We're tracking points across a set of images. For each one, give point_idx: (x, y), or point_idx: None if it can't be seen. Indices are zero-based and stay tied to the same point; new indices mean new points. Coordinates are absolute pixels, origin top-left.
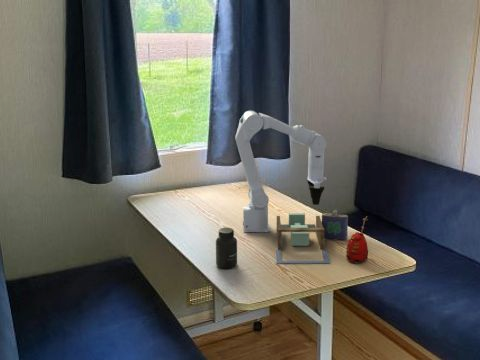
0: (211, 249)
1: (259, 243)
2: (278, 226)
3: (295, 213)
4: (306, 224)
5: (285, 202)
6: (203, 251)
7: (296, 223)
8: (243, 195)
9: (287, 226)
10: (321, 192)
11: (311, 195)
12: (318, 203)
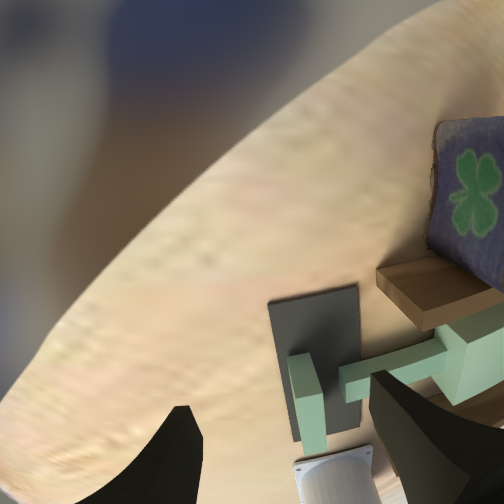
0: None
1: None
2: (500, 425)
3: (304, 434)
4: (277, 346)
5: (28, 418)
6: None
7: (354, 394)
8: (52, 494)
9: None
10: (489, 430)
11: (200, 456)
12: (390, 376)
